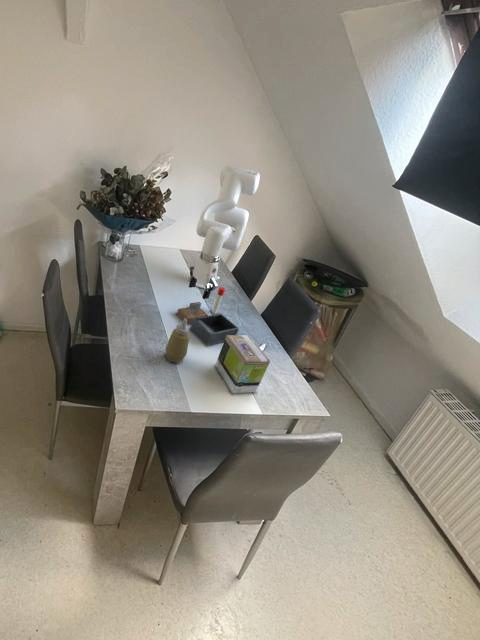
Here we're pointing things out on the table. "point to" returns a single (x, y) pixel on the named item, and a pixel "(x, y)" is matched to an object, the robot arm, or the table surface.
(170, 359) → the squeeze bottle
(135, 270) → the table surface
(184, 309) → the tap block
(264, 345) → the unicorn horn
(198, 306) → the tap handle
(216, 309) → the marker
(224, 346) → the tea box
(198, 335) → the sink basin
